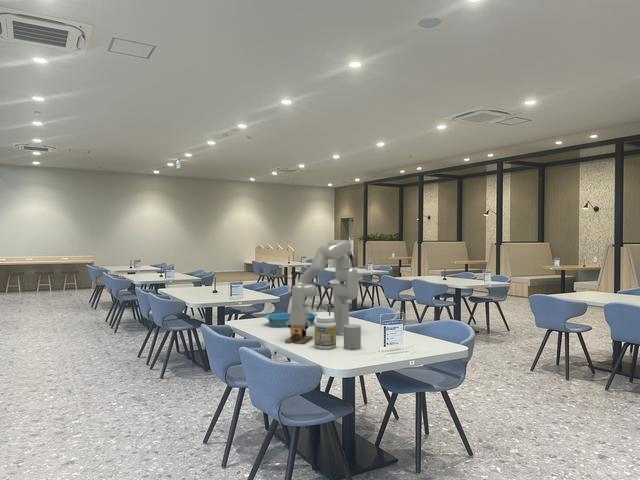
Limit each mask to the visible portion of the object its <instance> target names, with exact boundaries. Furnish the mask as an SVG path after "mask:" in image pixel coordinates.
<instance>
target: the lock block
mask: <svg viewBox="0 0 640 480" xmlns="http://www.w3.org/2000/svg"><path fill="white" fill-rule="evenodd" d="M296 334H299V335H300V340H302V339H304V338H305V337H306V336H307V335H306V336H305V337H303V327H302V326H293V327H291V330H290V336H291V335H296Z"/></svg>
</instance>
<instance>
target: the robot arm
mask: <svg viewBox="0 0 640 480" xmlns="http://www.w3.org/2000/svg"><path fill="white" fill-rule="evenodd" d="M351 250H352V243H351V242H350V241H349V240H347V239H332V240H330V241H328V242H327V245H320V246H319V247H318V248H317V250H316V252H315V255H314V257H313V259H312V262H311V265H310V266H309V267H308V268H307V269H306V270H305V271H304V272H303V273H302V274H301V276H300V277H299V279H298V281H297V284H296V285H292V287H291V309H290V312H289V313H290V319H289V320H288V321H287V322H286V325H287V326H288V327H287V328H288V329H289V330H290V331H291V327H293V326H302V327H303V337H305V336H307V330H308V329H309V328H310V327H311V326H312V325H311V323H310V322H309V321H308V318H307V312H308V311H307V307H308V304H306V300H305V299H306V298H312V297H315V296H316V295H317V294H318V287H317V286H316V285H315V284H312V283H311V284H309V283H310V281H312V279H313V278H315V277H317V276H319V275H321V274H322V273H324V271H325V269H326V266H327V264H328V262H329V260H334V261H335V262H334V263H335V265H334V266H335V267H334V268H335V270H334V276H335V280H336V281H338V282H340V283H337V284H335V285H334V286H333V287H332V296H333V317H335V320H334V322H335V323H336V336H337V335H340V336H344V325H349V324H350V304H349V303H350V302H349V301H354V300H356V299H357V298H358V296H359V295H358V294H359V282H360V281H359V280H360V279H359V273H358V270H357V269H356V268H355V267H351V266H349V264H350V263H349V256H348V254H349V253H350V252H351ZM341 282H342V283H341ZM348 300H349V301H348ZM289 322H290V324H289ZM307 323H308V325H307V326H306V324H307ZM310 325H311V326H310Z"/></svg>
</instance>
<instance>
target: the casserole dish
mask: <svg viewBox="0 0 640 480" xmlns="http://www.w3.org/2000/svg"><path fill="white" fill-rule="evenodd" d="M317 316H318V313H313V312H308V311H307V318H308V321H309V322H310V323H311V325H310V326H309V327H311V326H312V325H313V324H315V321H316V317H317ZM264 318H265V319H267V320H268V322H269V324H270V326H271V327H273V328H289V327H288V326H287V325H286V322H287V321H288V320H289V319H290V312H281V313H280V312H279V313H268V314H267V315H265V316H264ZM289 324H290V322H289ZM307 325H308V323H307V324H306V326H307Z"/></svg>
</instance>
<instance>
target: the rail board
mask: <svg viewBox="0 0 640 480" xmlns="http://www.w3.org/2000/svg"><path fill="white" fill-rule="evenodd" d="M312 340H314V338H313V335H306V337H305V338H304V339H302V340H300V335H299V334H296V335H291V334H290V337H289V338H287V339H285V340H284V344H290V343H294V344H295V345H307V344H308V343H309V342H310V341H312ZM294 344H293V345H294Z"/></svg>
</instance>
